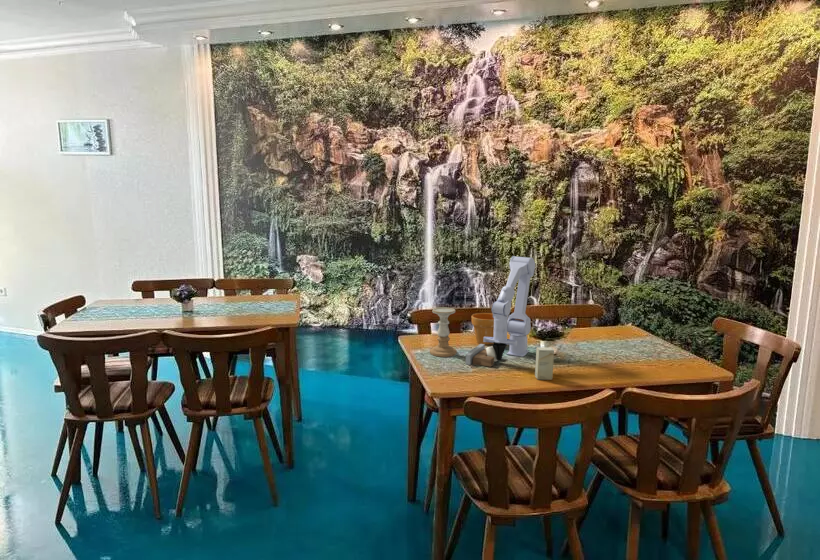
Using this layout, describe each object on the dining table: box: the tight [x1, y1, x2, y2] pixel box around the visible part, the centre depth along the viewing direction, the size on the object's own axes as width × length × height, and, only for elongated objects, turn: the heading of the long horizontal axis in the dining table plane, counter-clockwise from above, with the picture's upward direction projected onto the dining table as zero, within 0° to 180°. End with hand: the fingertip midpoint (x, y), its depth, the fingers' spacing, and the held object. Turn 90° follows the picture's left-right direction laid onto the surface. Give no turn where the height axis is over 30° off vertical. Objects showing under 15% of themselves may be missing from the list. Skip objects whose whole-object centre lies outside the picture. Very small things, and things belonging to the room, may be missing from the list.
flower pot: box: [471, 312, 494, 346], centre depth 285 cm, size 14×14×13 cm
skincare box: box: [534, 346, 555, 381], centre depth 235 cm, size 6×4×12 cm
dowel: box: [485, 345, 499, 363], centre depth 256 cm, size 4×4×6 cm
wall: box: [465, 343, 486, 366], centre depth 260 cm, size 18×2×4 cm, turn 153°
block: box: [472, 348, 495, 368], centre depth 257 cm, size 14×8×3 cm, turn 153°
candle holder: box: [429, 306, 458, 358], centre depth 267 cm, size 12×12×20 cm
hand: (499, 359), depth 254 cm, fingers closed
